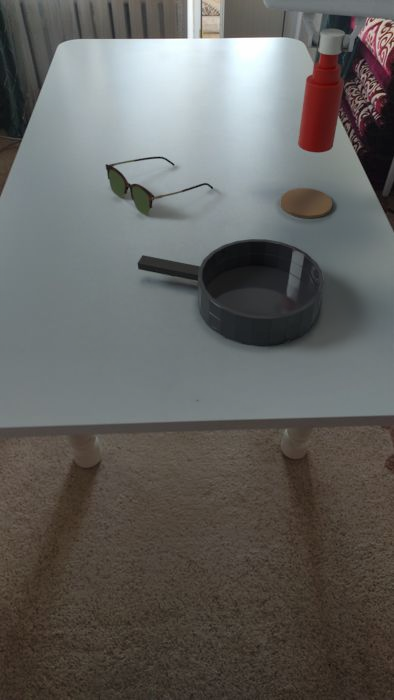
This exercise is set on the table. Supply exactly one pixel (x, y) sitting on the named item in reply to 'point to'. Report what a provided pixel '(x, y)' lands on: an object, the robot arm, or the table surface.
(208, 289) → the pan
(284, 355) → the table surface
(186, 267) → the pan handle
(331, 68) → the sauce bottle
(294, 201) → the coaster
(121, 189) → the sunglasses
